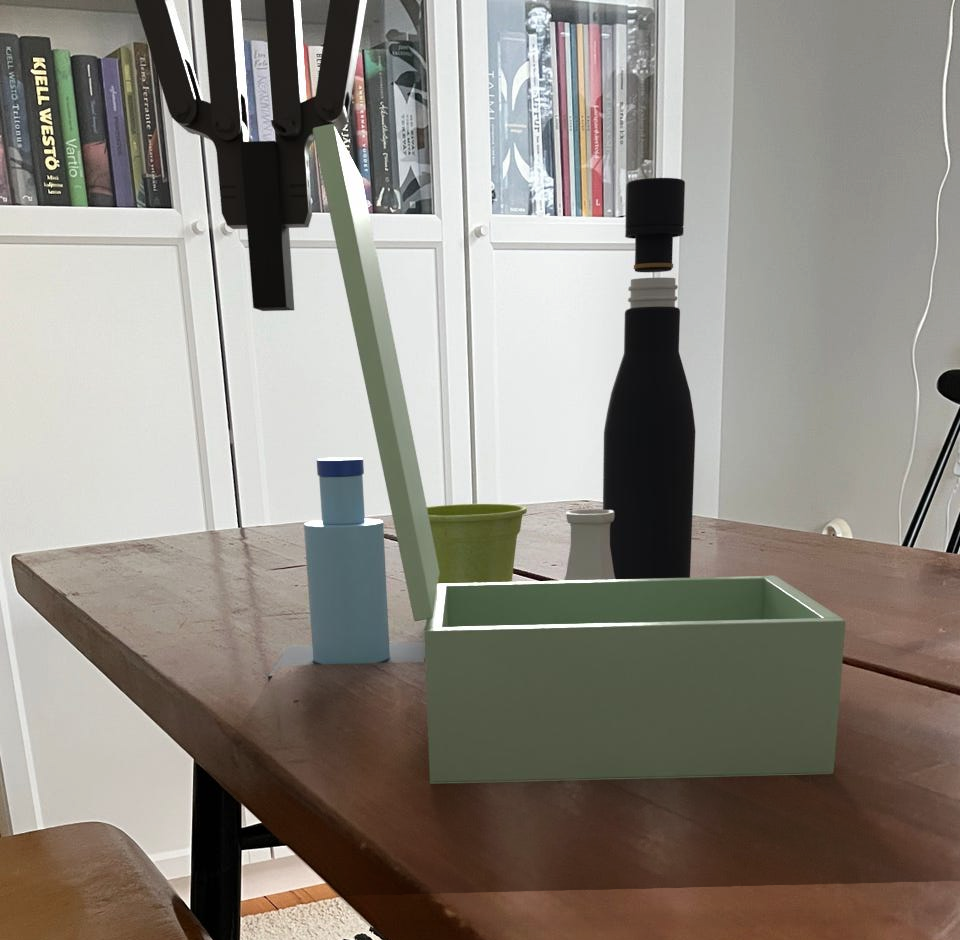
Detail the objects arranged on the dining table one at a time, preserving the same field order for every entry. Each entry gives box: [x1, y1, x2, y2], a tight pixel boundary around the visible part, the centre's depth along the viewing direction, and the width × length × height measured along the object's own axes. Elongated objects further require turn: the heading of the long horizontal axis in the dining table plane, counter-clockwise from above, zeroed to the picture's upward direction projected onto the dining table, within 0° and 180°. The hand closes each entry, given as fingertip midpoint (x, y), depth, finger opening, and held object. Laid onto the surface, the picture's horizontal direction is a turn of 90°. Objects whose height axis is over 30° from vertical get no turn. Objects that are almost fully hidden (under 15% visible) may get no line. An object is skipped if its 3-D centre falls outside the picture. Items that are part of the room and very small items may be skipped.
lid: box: [313, 124, 440, 622], centre depth 58 cm, size 19×14×1 cm
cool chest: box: [423, 575, 847, 785], centre depth 63 cm, size 19×14×8 cm
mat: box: [267, 641, 425, 682], centre depth 86 cm, size 10×10×1 cm
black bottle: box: [602, 177, 696, 580], centre depth 88 cm, size 6×6×30 cm
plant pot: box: [427, 503, 528, 584], centre depth 100 cm, size 9×9×9 cm
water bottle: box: [303, 457, 390, 665], centre depth 84 cm, size 5×5×13 cm
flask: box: [562, 508, 616, 581], centre depth 82 cm, size 7×7×10 cm
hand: (274, 308), depth 57 cm, fingers closed
